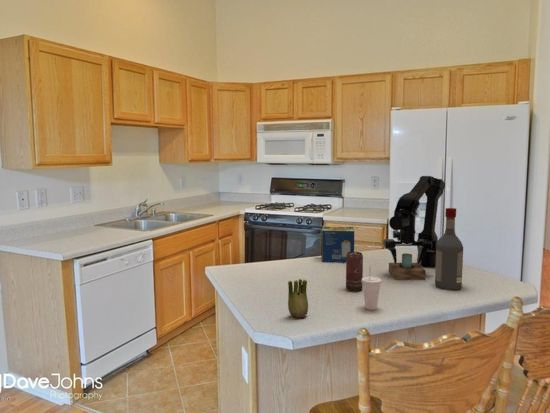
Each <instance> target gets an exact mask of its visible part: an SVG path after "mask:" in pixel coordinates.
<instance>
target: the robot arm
mask: <svg viewBox="0 0 550 413" xmlns="http://www.w3.org/2000/svg"><path fill="white" fill-rule="evenodd" d="M445 188H446V183H445V181H444V180H443V178H437V177H434V176H432V175H422V176H420V177H419V180H418V181H417V183H416V184H415V185H414V186H413V188H412V189H411V190H410V191H409V192H406V193H404V194H402V196H400V197H399V199H398V200H397V204H396V206H395V209H394V211H393V216H391V217H390V219H389V221H388V225H389V227H390V228H391V229H392V230H393V231H392V238H391V239H390V238H385V239H383V242H382V246H383V247H384V248H385V249H387V251H389V252H390V254H391V256H392V259H393V263H395V264H396V263H398V262H397V248H396V247H417V258H416V263H417V264H419V265H420V266H421V267H423V268H435V266H436V243H437V241H438V240H439V238H438V235H437V233H436V231H435V230H436V222H437V214H438V207H439V206H438V205H439V200H440V198H441V196H443V193H444V192H445V191H444V190H445ZM424 195H425V196H426V203H425V204H426V205H425V213H424V222H423V229H422V231H420V232H419V233H418V235H417V240H415V239H416V238H415V237H416V216H417V215H418V213H417V211H418V208H419V206H420V203H421V202H420V199H421V198H422V197H423V196H424ZM394 239H397V241H396V240H394Z"/></svg>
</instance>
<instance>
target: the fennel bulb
mask: <svg viewBox="0 0 550 413" xmlns="http://www.w3.org/2000/svg"><path fill="white" fill-rule="evenodd" d="M307 283H308V280H307V279H302V278H298V280H297V279H296V280H294V281H292V280H288V281H287V286H288V298H287V305H288V306H287V307H288V313H289V314H290V316H291V317H294V318H297V319H302V318H305V317H306V316H307V315H308V311H309V301H308V300H309V299H308V295H307V285H308V284H307Z"/></svg>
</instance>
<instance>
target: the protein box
mask: <svg viewBox="0 0 550 413" xmlns="http://www.w3.org/2000/svg"><path fill="white" fill-rule="evenodd" d="M354 228H355V227H354V226H322V227H321V262H322V263H335V262H336V263H339V264H340V263H341V264H342V263H344V264H346V255H347V253H348V252H354V251H355V229H354ZM336 263H335V264H336Z"/></svg>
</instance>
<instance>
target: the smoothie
mask: <svg viewBox="0 0 550 413" xmlns="http://www.w3.org/2000/svg"><path fill="white" fill-rule="evenodd" d="M371 273H372V266H368V276H363V278H362V283H363V288H362V290H363V297H364V298H363V300H364V308H365V309H366V310H373V311H374V310H377V308H378V301H379V294H380V287H381V285H382V279H381V278H379V277H376V276H372V274H371Z"/></svg>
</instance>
